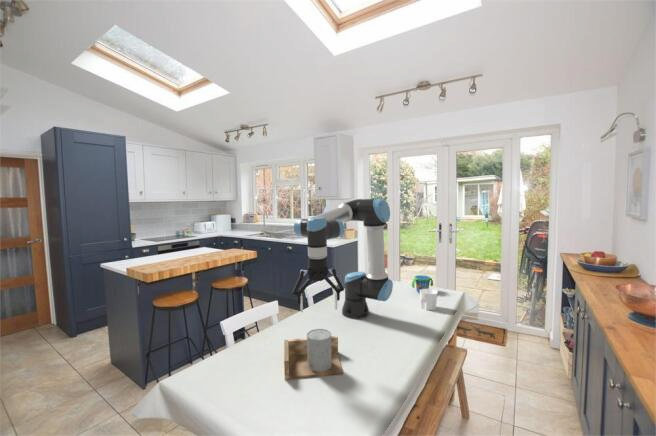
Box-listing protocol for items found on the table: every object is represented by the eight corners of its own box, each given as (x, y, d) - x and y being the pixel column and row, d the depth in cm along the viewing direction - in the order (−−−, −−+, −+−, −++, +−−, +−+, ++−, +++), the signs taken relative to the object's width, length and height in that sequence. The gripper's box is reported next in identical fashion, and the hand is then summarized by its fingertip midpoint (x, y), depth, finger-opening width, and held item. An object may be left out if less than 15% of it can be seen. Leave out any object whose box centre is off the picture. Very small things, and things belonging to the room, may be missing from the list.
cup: (440, 308, 180) (441, 291, 179) (429, 312, 174) (430, 295, 173) (426, 303, 188) (426, 287, 187) (415, 307, 182) (415, 290, 182)
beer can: (303, 362, 122) (302, 332, 121) (325, 356, 127) (324, 327, 126) (313, 374, 114) (312, 342, 113) (336, 367, 118) (335, 336, 117)
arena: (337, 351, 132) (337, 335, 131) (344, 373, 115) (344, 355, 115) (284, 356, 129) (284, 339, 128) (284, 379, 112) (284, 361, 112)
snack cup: (428, 288, 218) (428, 274, 217) (437, 293, 207) (437, 278, 207) (408, 290, 214) (408, 275, 214) (415, 295, 204) (415, 280, 203)
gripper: (346, 253, 126) (347, 303, 128) (285, 256, 122) (287, 308, 124) (350, 257, 118) (351, 310, 120) (285, 260, 115) (287, 316, 117)
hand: (318, 309), depth 122 cm, fingers open, 13 cm apart
